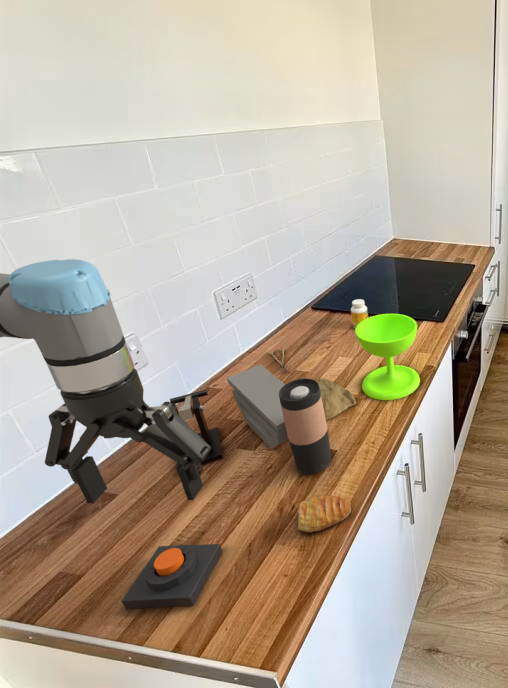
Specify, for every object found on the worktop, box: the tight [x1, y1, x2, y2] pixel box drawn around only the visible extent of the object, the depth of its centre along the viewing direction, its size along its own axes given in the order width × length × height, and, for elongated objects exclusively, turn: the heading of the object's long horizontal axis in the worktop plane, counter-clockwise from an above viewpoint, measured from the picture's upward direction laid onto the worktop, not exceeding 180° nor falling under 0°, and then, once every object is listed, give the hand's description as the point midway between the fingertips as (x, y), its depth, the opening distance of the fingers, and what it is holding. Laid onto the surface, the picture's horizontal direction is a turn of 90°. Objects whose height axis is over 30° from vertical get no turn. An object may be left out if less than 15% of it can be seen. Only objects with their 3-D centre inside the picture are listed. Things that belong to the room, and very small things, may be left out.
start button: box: [154, 548, 184, 576], centre depth 70 cm, size 4×4×2 cm
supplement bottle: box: [350, 298, 369, 330], centre depth 149 cm, size 5×5×10 cm
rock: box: [315, 377, 357, 421], centre depth 109 cm, size 11×9×10 cm
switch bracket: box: [172, 397, 223, 468], centre depth 94 cm, size 10×8×13 cm
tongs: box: [268, 347, 287, 373], centre depth 129 cm, size 4×13×2 cm, turn 40°
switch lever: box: [169, 389, 209, 422], centre depth 96 cm, size 13×7×2 cm, turn 34°
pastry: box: [297, 494, 352, 533], centre depth 83 cm, size 9×7×4 cm
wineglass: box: [354, 313, 421, 401], centre depth 119 cm, size 16×16×18 cm
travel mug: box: [279, 378, 332, 475], centre depth 91 cm, size 8×8×20 cm
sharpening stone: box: [226, 364, 289, 450], centre depth 102 cm, size 25×8×11 cm, turn 51°
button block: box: [121, 543, 224, 610], centre depth 71 cm, size 10×9×4 cm
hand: (147, 494), depth 65 cm, fingers open, 13 cm apart
